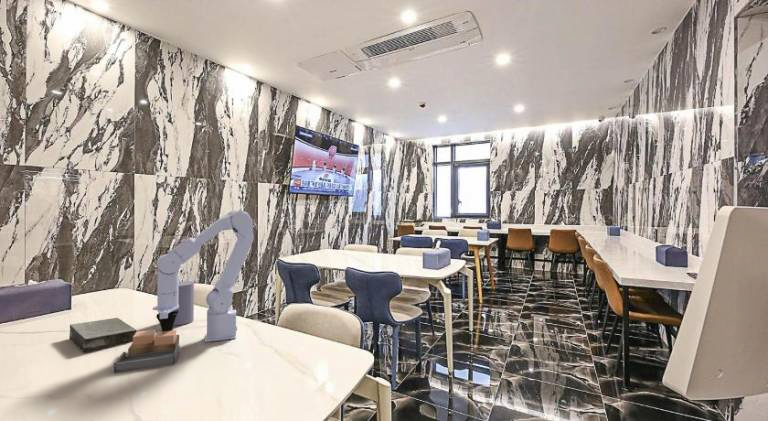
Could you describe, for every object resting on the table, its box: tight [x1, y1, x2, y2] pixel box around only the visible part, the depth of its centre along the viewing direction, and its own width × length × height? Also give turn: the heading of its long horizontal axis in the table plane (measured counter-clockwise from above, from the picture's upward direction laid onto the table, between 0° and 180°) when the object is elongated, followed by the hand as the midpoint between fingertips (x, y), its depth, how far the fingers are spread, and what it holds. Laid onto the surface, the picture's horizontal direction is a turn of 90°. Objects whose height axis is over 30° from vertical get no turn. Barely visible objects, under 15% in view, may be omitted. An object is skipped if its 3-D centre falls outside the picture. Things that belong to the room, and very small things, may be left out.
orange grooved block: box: [127, 334, 180, 355], centre depth 108 cm, size 12×8×3 cm, turn 113°
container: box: [174, 280, 195, 327], centre depth 136 cm, size 10×10×15 cm
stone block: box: [68, 317, 137, 354], centre depth 117 cm, size 14×20×5 cm
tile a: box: [154, 329, 177, 346], centre depth 108 cm, size 5×5×2 cm
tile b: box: [132, 329, 157, 345], centre depth 108 cm, size 5×5×2 cm
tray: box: [113, 344, 180, 374], centre depth 100 cm, size 14×9×2 cm, turn 113°
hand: (167, 335), depth 112 cm, fingers closed
